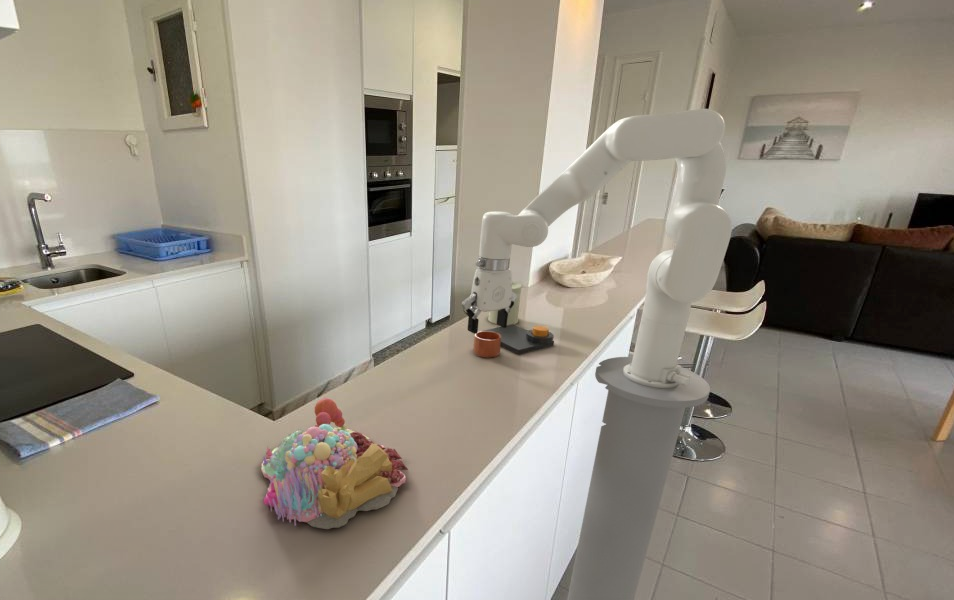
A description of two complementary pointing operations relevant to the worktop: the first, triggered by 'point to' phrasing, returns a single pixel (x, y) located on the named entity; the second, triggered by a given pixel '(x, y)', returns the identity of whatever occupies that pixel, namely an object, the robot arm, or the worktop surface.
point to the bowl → (487, 343)
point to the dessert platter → (330, 472)
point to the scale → (522, 339)
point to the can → (514, 310)
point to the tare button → (540, 331)
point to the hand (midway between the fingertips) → (487, 329)
